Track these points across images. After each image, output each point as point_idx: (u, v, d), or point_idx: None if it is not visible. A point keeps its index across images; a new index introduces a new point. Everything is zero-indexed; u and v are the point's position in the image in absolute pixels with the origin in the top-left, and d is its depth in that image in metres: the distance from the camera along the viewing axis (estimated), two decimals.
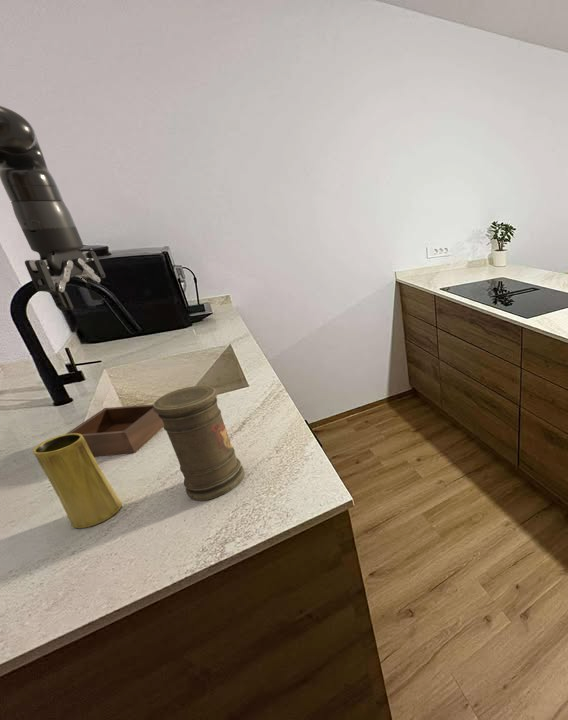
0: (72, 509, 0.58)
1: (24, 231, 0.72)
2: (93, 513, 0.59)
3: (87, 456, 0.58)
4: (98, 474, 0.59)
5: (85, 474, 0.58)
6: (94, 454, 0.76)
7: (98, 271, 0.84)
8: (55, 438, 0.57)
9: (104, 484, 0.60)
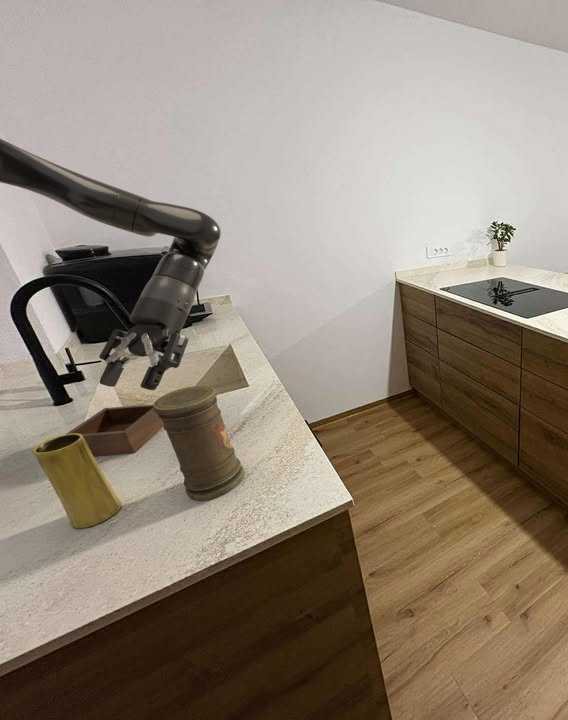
0: (72, 509, 0.58)
1: (168, 304, 0.68)
2: (93, 513, 0.59)
3: (87, 456, 0.58)
4: (98, 474, 0.59)
5: (85, 474, 0.58)
6: (94, 454, 0.76)
7: None
8: (55, 438, 0.57)
9: (104, 484, 0.60)
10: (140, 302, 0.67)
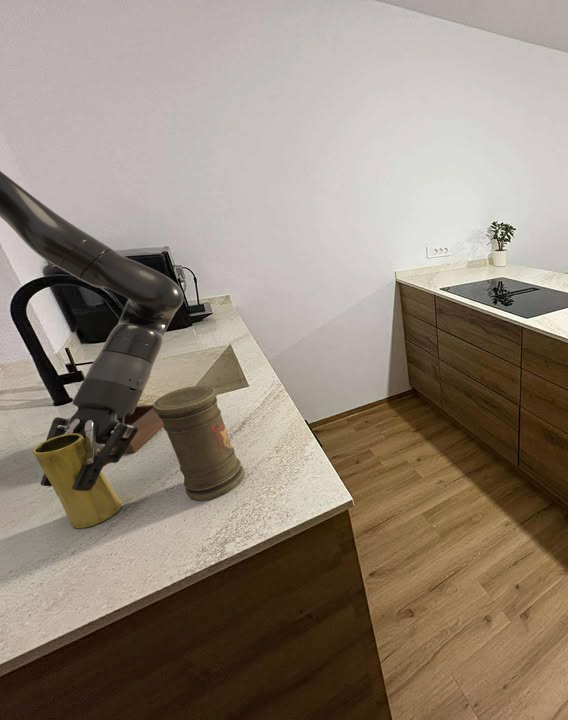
0: (72, 509, 0.58)
1: (117, 385, 0.61)
2: (93, 513, 0.59)
3: None
4: None
5: None
6: None
7: None
8: (55, 438, 0.57)
9: (104, 484, 0.60)
10: (85, 384, 0.59)
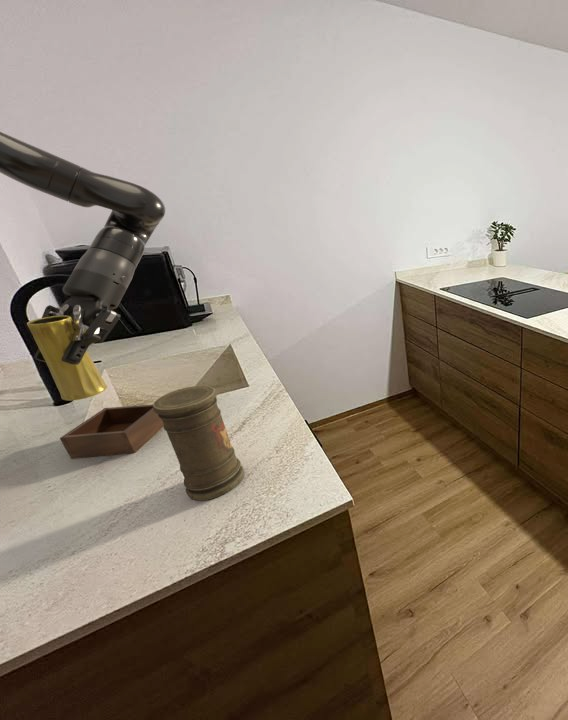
0: (62, 381, 0.66)
1: (102, 277, 0.68)
2: (80, 387, 0.67)
3: None
4: (85, 353, 0.67)
5: None
6: (94, 454, 0.76)
7: None
8: (47, 318, 0.65)
9: (90, 364, 0.68)
10: (73, 274, 0.67)
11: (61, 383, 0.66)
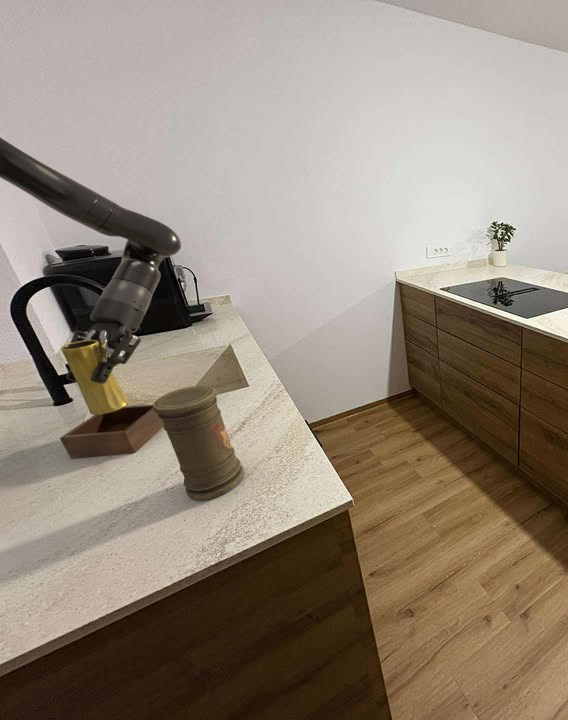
0: (90, 398, 0.74)
1: (124, 305, 0.77)
2: (106, 403, 0.76)
3: None
4: None
5: None
6: (94, 454, 0.76)
7: None
8: (77, 342, 0.74)
9: (115, 382, 0.77)
10: (99, 303, 0.76)
11: (90, 400, 0.74)
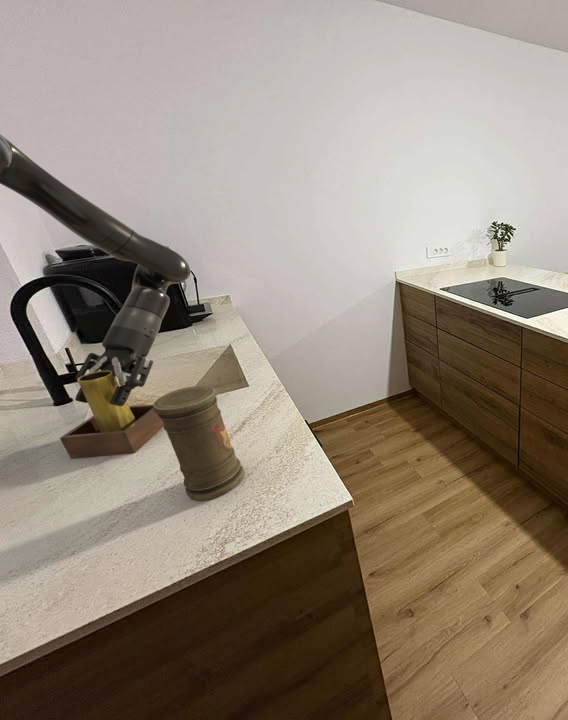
0: (105, 427, 0.77)
1: (135, 332, 0.79)
2: None
3: (116, 387, 0.77)
4: None
5: None
6: (94, 454, 0.76)
7: None
8: (92, 373, 0.77)
9: (128, 410, 0.80)
10: (111, 330, 0.78)
11: (104, 428, 0.77)
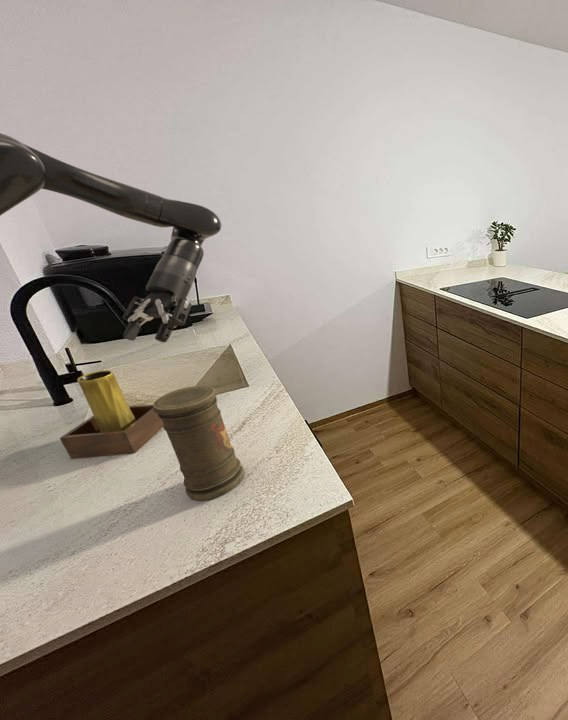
0: (105, 427, 0.77)
1: (176, 277, 0.87)
2: None
3: (116, 387, 0.77)
4: (124, 402, 0.79)
5: (114, 400, 0.77)
6: (94, 454, 0.76)
7: (138, 317, 0.88)
8: (92, 373, 0.77)
9: (128, 410, 0.80)
10: (154, 275, 0.86)
11: (104, 428, 0.77)
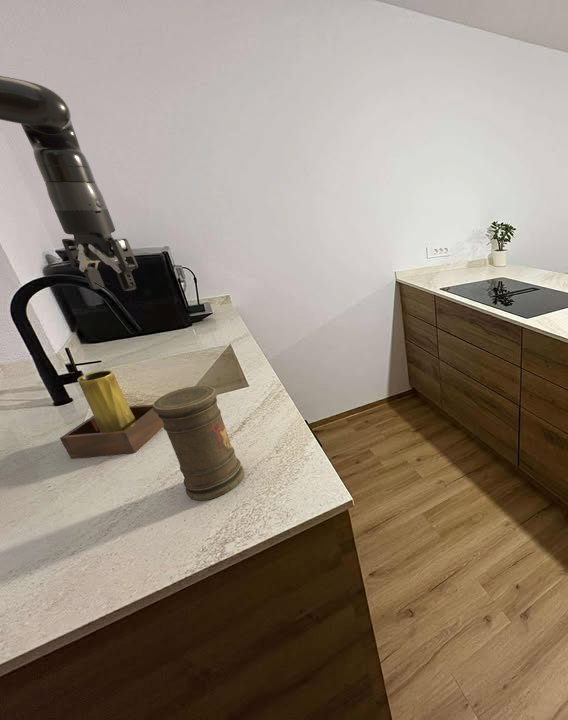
0: (105, 427, 0.77)
1: (84, 212, 0.72)
2: None
3: (116, 387, 0.77)
4: (124, 402, 0.79)
5: (114, 400, 0.77)
6: (94, 454, 0.76)
7: None
8: (92, 373, 0.77)
9: (128, 410, 0.80)
10: (60, 216, 0.71)
11: (104, 428, 0.77)
